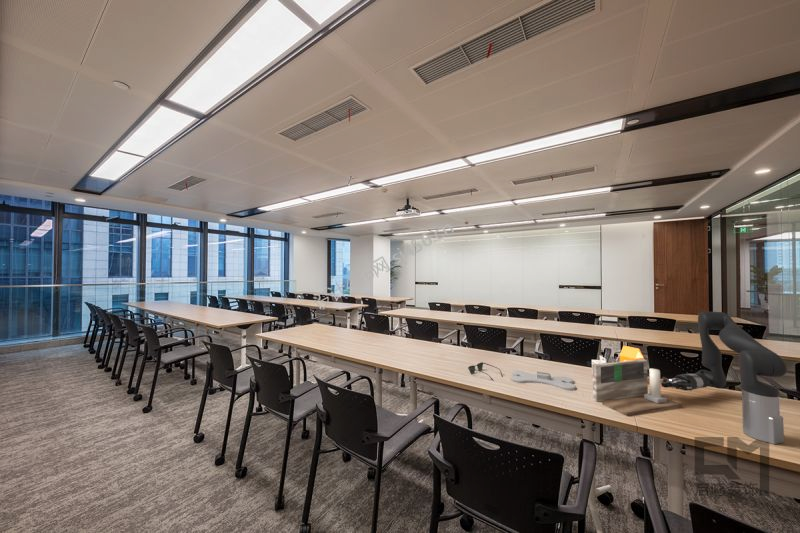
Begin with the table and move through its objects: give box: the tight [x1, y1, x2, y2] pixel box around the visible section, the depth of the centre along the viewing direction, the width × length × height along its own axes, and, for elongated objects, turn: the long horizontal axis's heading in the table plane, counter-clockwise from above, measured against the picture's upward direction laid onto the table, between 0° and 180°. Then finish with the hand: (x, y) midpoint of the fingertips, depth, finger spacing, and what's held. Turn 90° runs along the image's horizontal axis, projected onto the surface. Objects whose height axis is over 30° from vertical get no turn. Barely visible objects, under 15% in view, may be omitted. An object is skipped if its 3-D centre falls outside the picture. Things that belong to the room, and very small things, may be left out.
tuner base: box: [591, 358, 683, 417], centre depth 142 cm, size 17×34×18 cm, turn 104°
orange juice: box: [619, 345, 645, 362], centre depth 172 cm, size 8×9×20 cm
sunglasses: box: [467, 361, 503, 381], centre depth 182 cm, size 16×17×5 cm
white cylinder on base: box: [638, 367, 668, 403], centre depth 144 cm, size 11×6×15 cm, turn 14°
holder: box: [510, 369, 577, 391], centre depth 172 cm, size 19×34×5 cm, turn 64°
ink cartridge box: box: [591, 355, 607, 380], centre depth 171 cm, size 9×5×15 cm, turn 168°
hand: (663, 385), depth 143 cm, fingers closed
